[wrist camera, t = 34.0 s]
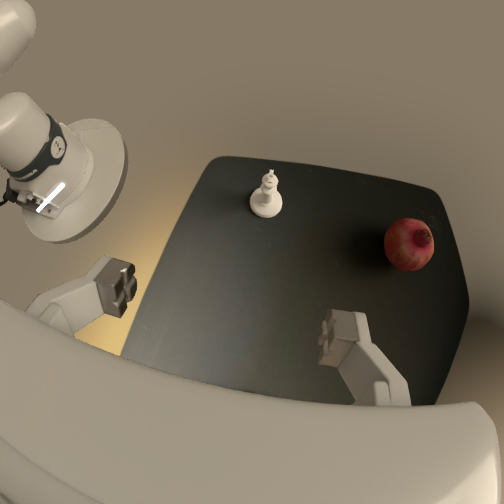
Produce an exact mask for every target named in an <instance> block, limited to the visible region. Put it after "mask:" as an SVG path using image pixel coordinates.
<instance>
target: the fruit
mask: <svg viewBox="0 0 504 504" xmlns="http://www.w3.org/2000/svg"><path fill="white" fill-rule="evenodd" d="M384 248H385V254H386V256H387V258H388V260H389V261H390V262H391V263H392V265H393V266H394V267H395V268H397V269H398V270H402V271H407V272H408V271H413V270H417V269H420V268H422V267H423V266H424V265H425V264H426V263H427V262H428V261H429V260H430V258H431V256H432V254H433V252H434V241H433V237H432V234H431V232H430V229H429V228H428V226H427V225H426V224H425V223H424V222H422V221H420V220H417V219H412V218H402V219H399V220H398V221H396V222H395V223H394V224H392V225H391V226H390V227H389V228H388V230H387V231H386V233H385V238H384Z"/></svg>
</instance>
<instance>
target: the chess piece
mask: <svg viewBox="0 0 504 504" xmlns="http://www.w3.org/2000/svg"><path fill="white" fill-rule="evenodd" d="M273 171H274V170H270V173H269V174H266V175H264V176H263V178H262V185H261V187H260V188H258V189H256V190H255V191H254V192H253V194H252V196H251V198H250V206H251V209H252V211H253V212H254V213H255V214H256V215H258V216H260V217H264V218H269V217H273V216H275V215H276V214H277V213H278V212H279V211H280V210H281V207H282V198H281V195H280V194H279V192H278V191H277V187H276V185H277V183H278V179H277V177H276V176H275V175H273Z"/></svg>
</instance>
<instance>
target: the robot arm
mask: <svg viewBox="0 0 504 504" xmlns="http://www.w3.org/2000/svg"><path fill="white" fill-rule="evenodd" d="M35 30H36V17H35V13H34V11H33V9H32V7H31V6H30V5H29V4H28V3H27V2H26V1H24V0H0V77H1V76H2V75H3V74H4V73H5V72H6V71H7V70H8V69H9V68H10V67H11V66H12V65H13V64H14V62H15V61H16V60H17V59H18V57H19V56H20V55H21V54H22V52H23V51H24V50H25V49H26V48H27V46H28V45H29V44H30V43H31V42H32V40H33V38H34V35H35ZM0 165H2V166H3V167H4V169H5V168H6V170H7V171H8V173H9V175H10V178H8V179H7V187H6V192H5V193H4V195H3V199H4V200H3V201H2V202H0V206H2V205H4V204H5V203H7V201H8V200H9V201H11V202H13V203H14V202H16V204H17V205H19V206H21V207H23V208H25V209H28V210H30V211H33V212H35V213H38V214H40V215H43V216H45V217H48V218H50V219H56V218H57V217H58V216H59V215H60V213H61V212H62V211H63V209H64V208H65V207H66V206H68V205H69V204H71V203H72V202H73V201H75V200H76V199H77V198H78V197H79V196H80V195H81V193H82V192H83V191H84V189H85V188H86V186H87V185H88V183H89V181H90V178H91V176H92V173H93V168H94V156H93V153H92V151H91V149H90V148H89V147H88V146H87V145H86V144H85V141H84V137H83V135H81V134H80V133H77V134H74V133H73V132H72V131H71V130H70V129H69V128H67V127H66V126H65V125H64V124H62V123H59V124H58V123H57V121H56V120H55V119H54V118H53V117H51V116H50V115H49V114H45V113H44V112H43V111H42V110H41V109H40V108H39V107H38V105H37V104H36V103H35V102H34V101H33V100H32V99H31V98H30V97H29V95H27V94H25V93H22V92H12V93H7V94H5V95H3V96H1V97H0ZM2 166H1V167H2ZM134 273H135V266H134V265H133V264H132V263H128V262H125V261H122V260H118V259H115V258H111V257H108V256H102V257H100V258H99V260H98V261H97V262H96V263H95V264H94V265H93V266H92V267H91V269H90V270H89V271H88V272H87V273H86V274H85V276H84V277H78V278H76V279H73V280H71V281H69V282H66V283H64V284H61V285H59V286H57V287H54V288H52V289H50V290H48V291H45V292H43V293H41V294H38V296H37V297H36V298H35V299H34V300H33V301H32V303H31V304H30V305H29V306H28V307H27V309H26V310H25V311H24V312H23V311H21V310H19V309H17V308H16V307H14V306H12V305H11V304H9V303H7V302H6V301H4V300H2V299H1V298H0V504H501V463H500V451H499V443H498V437H497V432H496V428H495V425H494V423H493V421H492V420H491V418H490V417H489V416H488V414H487V413H486V412H485V411H484V410H483V408H482V407H480V405H478V404H477V403H476V402H462V403H454V404H444V405H428V406H411V401H410V396H409V390H408V385H407V381H406V380H405V379H404V378H403V377H402V376H401V374H400V373H399V372H398V371H397V370H396V368H395V367H394V366H393V365H392V364H391V362H390V361H389V360H388V359H387V358H386V357H385V355H384V354H383V353H382V352H381V351H380V350H379V348H378V347H377V346H376V345H375V344H372V343H371V338H370V333H369V328H368V323H367V319H366V315H365V314H364V313H360V312H352V311H347V310H341V309H335V308H330V309H329V310H328V312H327V314H326V318H327V319H326V320H325V321H323V322H322V324H321V326H320V329H319V333H318V344H319V345H320V347H321V348H320V349H319V351H318V365H322V366H328V367H334V368H337V369H338V371H339V373H340V374H341V376H342V378H343V379H344V381H345V383H346V385H347V386H348V388H349V390H350V391H351V393H352V395H353V397H354V398H355V400H356V402H355V403H354V404H353V405H339V404H326V403H316V402H307V401H299V400H291V399H284V398H277V397H271V396H265V395H259V394H254V393H248V392H243V391H238V390H234V389H229V388H224V387H220V386H216V385H211V384H207V383H203V382H199V381H196V380H192V379H188V378H185V377H181V376H177V375H174V374H171V373H167V372H164V371H161V370H158V369H155V368H151V367H148V366H145V365H142V364H139V363H137V362H134V361H131V360H128V359H125V358H123V357H120V356H117V355H115V354H112V353H110V352H107V351H104V350H102V349H99V348H97V347H95V346H92V345H90V344H87V343H85V342H83V341H80V340H78V339H76V338H75V337H74V335H73V334H74V333H75V332H77V331H79V330H80V329H81V328H83V327H85V326H86V325H88V324H89V323H91V322H92V321H94V320H96V319H97V318H99V317H100V316H102V315H103V314H104V313H105V314H108V315H112V316H115V317H118V318H121V317H122V315H123V314H124V312H125V311H126V309H127V302H129V301H132V299H133V298H134V296H135V293H136V290H137V280H136V278H135V277H134V276H133V274H134Z"/></svg>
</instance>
